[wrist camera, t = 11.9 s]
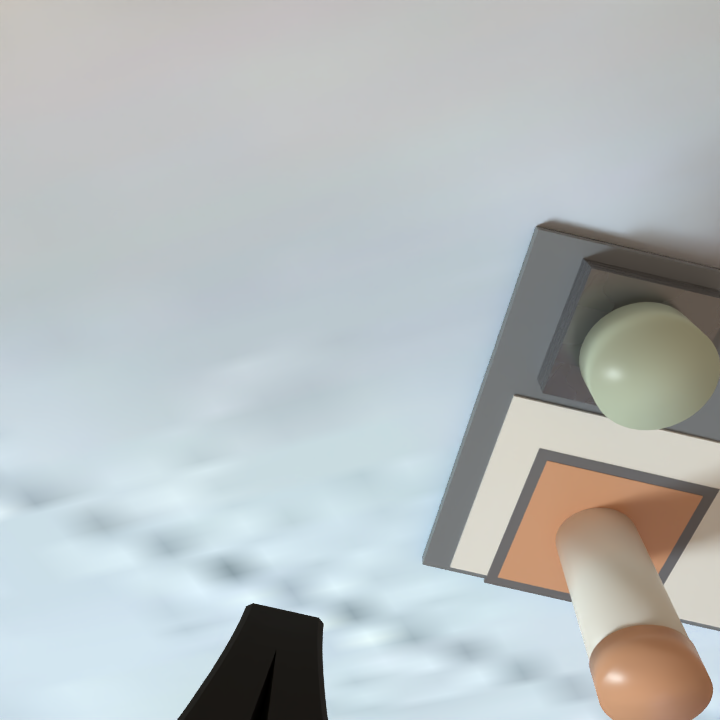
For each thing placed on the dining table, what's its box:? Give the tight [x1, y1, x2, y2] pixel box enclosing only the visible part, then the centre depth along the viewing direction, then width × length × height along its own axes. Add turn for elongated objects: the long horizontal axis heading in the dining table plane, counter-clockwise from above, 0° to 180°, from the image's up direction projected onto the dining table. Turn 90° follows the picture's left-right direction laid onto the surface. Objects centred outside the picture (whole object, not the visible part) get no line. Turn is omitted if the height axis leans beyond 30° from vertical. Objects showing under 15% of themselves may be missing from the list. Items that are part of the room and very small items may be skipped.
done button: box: [579, 302, 720, 430], centre depth 17 cm, size 3×3×3 cm
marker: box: [555, 508, 713, 720], centre depth 19 cm, size 3×3×6 cm
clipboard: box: [422, 226, 720, 631], centre depth 21 cm, size 15×13×1 cm
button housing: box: [537, 258, 720, 406], centre depth 18 cm, size 4×4×1 cm
